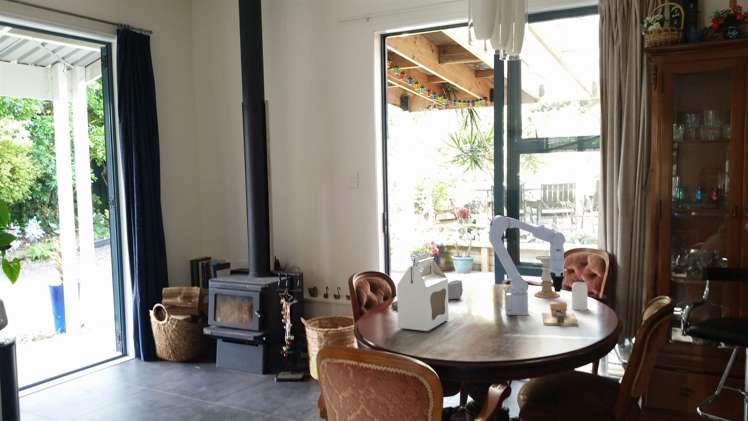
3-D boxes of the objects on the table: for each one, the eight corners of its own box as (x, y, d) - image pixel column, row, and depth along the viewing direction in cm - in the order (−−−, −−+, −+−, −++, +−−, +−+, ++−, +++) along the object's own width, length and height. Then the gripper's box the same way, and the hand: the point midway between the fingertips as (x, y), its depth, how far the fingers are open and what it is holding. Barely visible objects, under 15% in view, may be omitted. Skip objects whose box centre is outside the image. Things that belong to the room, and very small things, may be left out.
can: (588, 311, 245) (588, 283, 245) (573, 310, 247) (573, 283, 246) (586, 307, 252) (585, 281, 251) (571, 307, 253) (570, 281, 252)
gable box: (427, 331, 217) (426, 259, 216) (397, 328, 224) (395, 258, 223) (448, 319, 237) (447, 253, 235) (420, 316, 243) (419, 252, 242)
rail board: (543, 325, 223) (543, 315, 222) (542, 314, 240) (542, 305, 240) (578, 326, 219) (578, 316, 219) (574, 316, 237) (574, 306, 236)
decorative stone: (468, 291, 279) (457, 273, 280) (467, 293, 272) (456, 276, 273) (443, 305, 282) (433, 288, 283) (442, 308, 276) (431, 291, 276)
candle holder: (539, 294, 286) (538, 255, 285) (563, 296, 279) (562, 256, 278) (530, 298, 276) (530, 257, 275) (555, 300, 269) (554, 259, 268)
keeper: (550, 315, 234) (550, 303, 234) (550, 312, 239) (550, 301, 238) (566, 315, 232) (566, 304, 232) (566, 312, 237) (565, 302, 237)
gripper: (567, 261, 234) (568, 293, 235) (565, 257, 248) (565, 287, 249) (550, 261, 236) (550, 293, 236) (548, 257, 250) (549, 287, 250)
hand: (557, 290), depth 243 cm, fingers open, 6 cm apart
